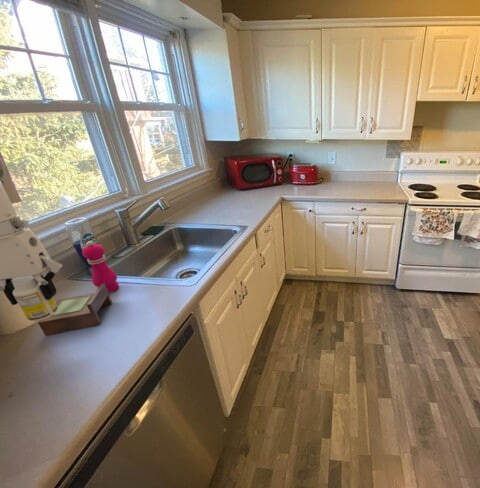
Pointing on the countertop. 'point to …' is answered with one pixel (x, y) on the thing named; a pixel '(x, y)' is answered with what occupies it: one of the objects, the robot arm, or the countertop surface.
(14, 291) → the supplement bottle
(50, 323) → the brown wooden box
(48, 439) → the countertop surface
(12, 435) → the countertop surface
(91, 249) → the pepper mill
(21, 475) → the countertop surface
